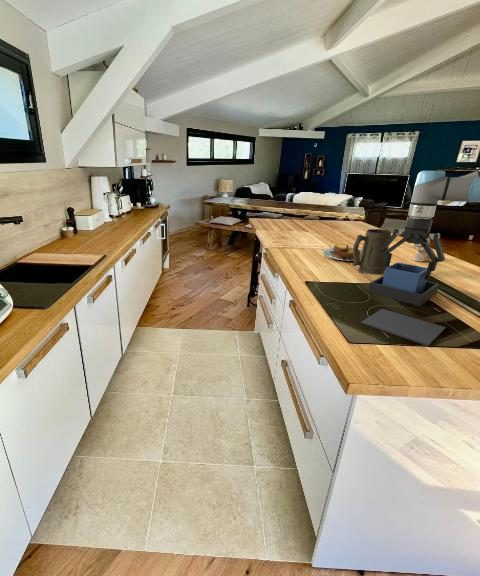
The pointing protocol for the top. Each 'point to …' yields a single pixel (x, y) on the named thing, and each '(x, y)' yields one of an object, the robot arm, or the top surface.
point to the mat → (405, 326)
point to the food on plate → (342, 252)
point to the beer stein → (371, 251)
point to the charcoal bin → (403, 292)
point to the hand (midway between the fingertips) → (405, 274)
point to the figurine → (421, 252)
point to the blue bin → (405, 277)
